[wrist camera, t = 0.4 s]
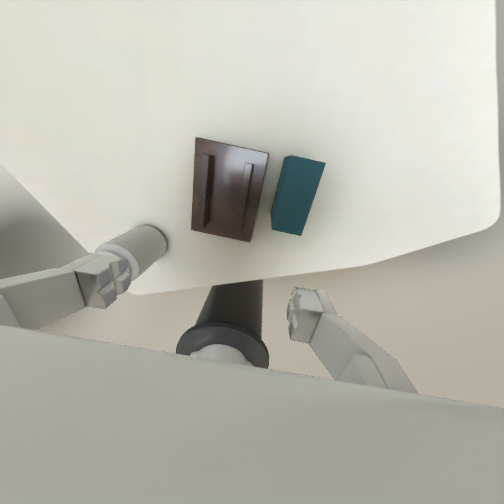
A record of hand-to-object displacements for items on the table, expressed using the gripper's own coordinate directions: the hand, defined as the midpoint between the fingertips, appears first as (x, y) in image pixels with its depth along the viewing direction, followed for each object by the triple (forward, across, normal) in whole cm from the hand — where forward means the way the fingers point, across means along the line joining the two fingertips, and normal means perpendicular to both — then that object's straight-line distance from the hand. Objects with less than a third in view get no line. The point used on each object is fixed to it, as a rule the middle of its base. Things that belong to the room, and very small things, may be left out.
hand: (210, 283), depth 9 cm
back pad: (+28, +7, +2) cm, 29 cm away
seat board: (+28, -4, 0) cm, 28 cm away
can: (+28, -20, -13) cm, 37 cm away
